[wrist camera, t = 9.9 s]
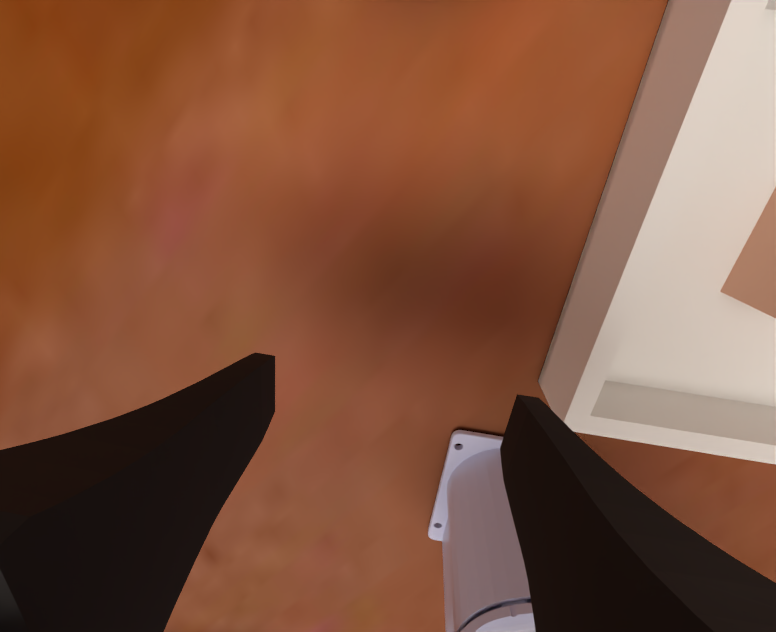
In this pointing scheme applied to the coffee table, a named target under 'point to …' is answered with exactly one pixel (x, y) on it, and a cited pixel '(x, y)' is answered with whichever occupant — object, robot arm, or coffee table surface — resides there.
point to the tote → (679, 250)
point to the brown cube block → (757, 265)
